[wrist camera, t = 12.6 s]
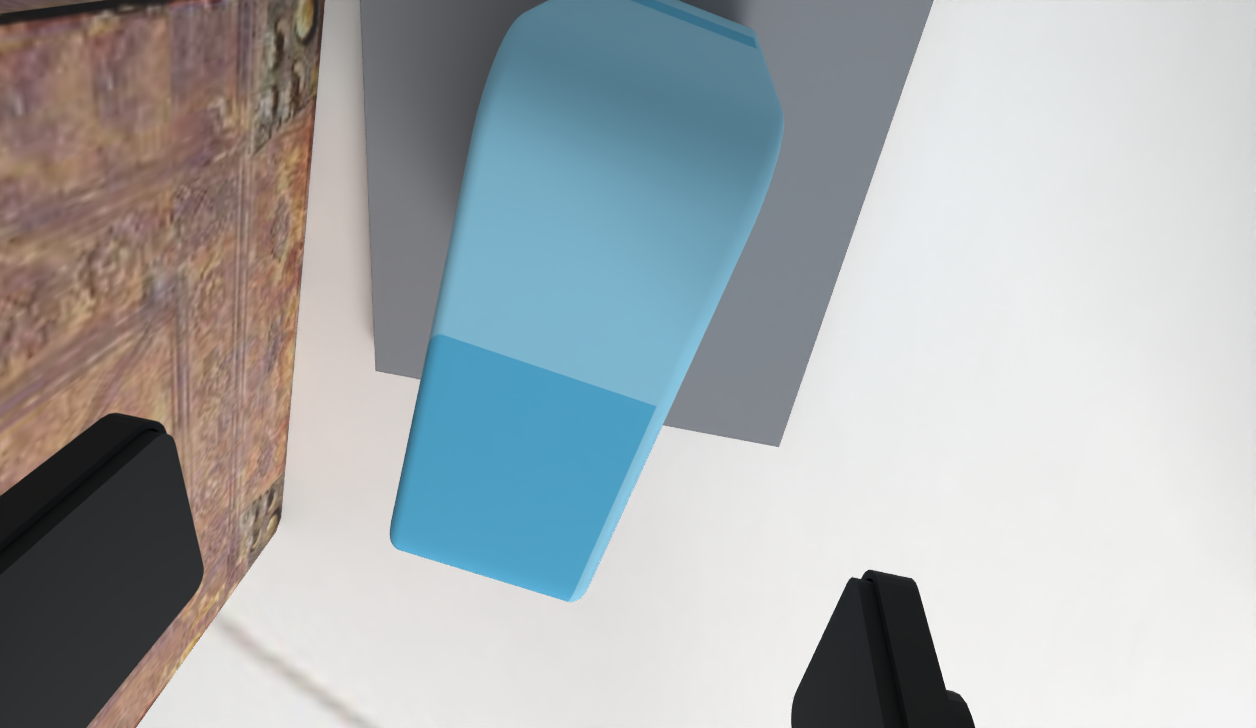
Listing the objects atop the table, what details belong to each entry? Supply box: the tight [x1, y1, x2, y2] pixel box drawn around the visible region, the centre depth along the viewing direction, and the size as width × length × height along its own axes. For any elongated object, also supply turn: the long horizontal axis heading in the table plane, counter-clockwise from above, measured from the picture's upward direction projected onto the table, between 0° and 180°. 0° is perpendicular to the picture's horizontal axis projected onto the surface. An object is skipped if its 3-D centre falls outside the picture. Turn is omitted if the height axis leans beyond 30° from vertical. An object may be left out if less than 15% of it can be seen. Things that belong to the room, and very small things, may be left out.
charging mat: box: [360, 0, 934, 447], centre depth 22 cm, size 16×26×1 cm, turn 171°
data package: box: [390, 0, 784, 602], centre depth 18 cm, size 12×4×12 cm, turn 162°
